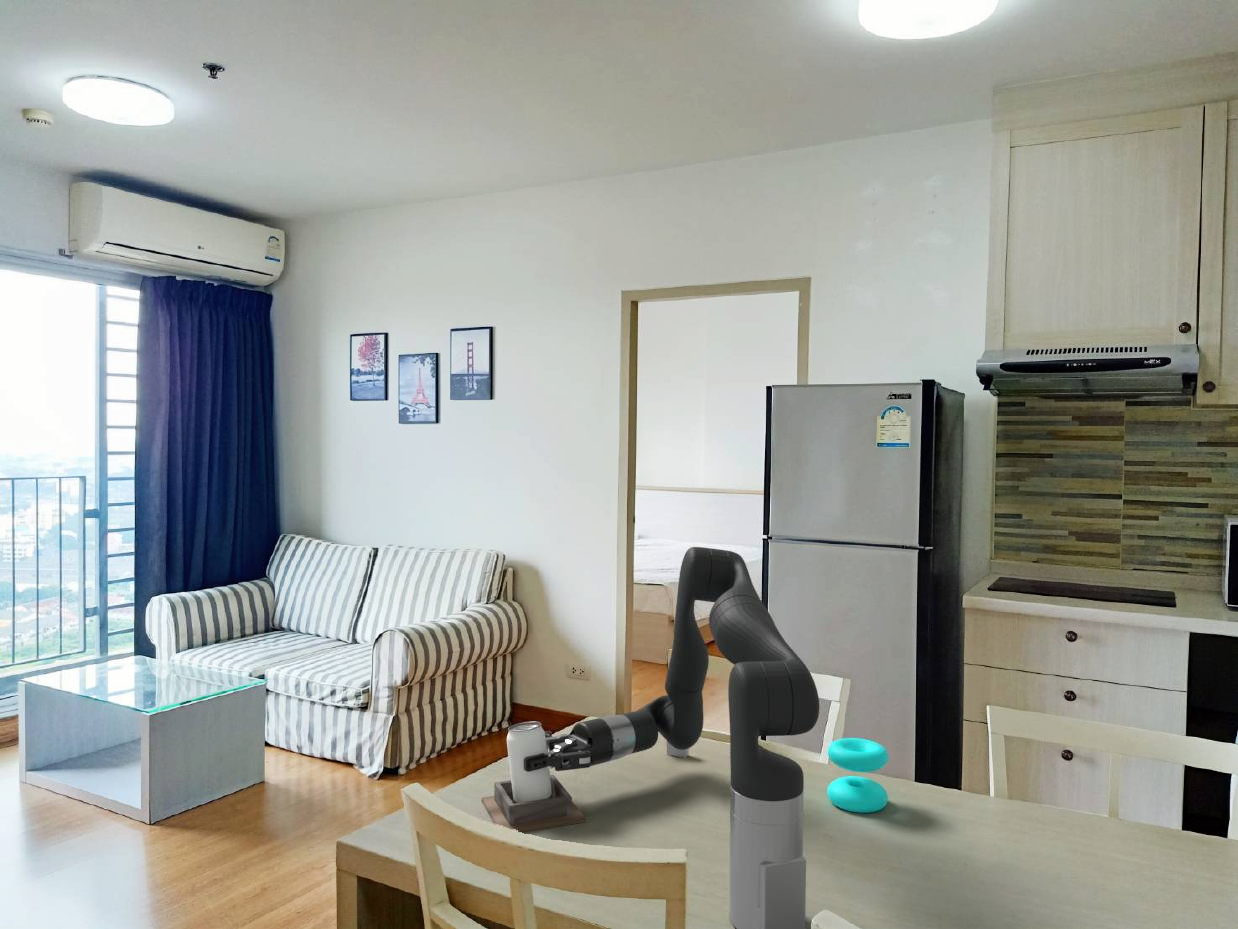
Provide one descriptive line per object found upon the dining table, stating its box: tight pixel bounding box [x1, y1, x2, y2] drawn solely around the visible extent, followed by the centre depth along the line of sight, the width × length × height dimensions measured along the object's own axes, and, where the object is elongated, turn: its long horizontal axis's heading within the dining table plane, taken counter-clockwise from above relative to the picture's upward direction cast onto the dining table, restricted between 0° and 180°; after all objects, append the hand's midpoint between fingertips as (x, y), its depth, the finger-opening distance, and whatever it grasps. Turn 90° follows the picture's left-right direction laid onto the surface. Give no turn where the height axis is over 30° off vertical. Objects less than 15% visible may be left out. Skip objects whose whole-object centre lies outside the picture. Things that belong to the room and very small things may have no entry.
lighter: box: [666, 740, 690, 758], centre depth 173 cm, size 7×2×8 cm, turn 65°
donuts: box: [826, 737, 889, 813], centre depth 149 cm, size 10×10×10 cm
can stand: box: [481, 774, 587, 833], centre depth 145 cm, size 14×14×4 cm
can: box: [506, 721, 552, 803], centre depth 146 cm, size 6×6×12 cm
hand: (518, 760), depth 144 cm, fingers closed on can, 4 cm apart
